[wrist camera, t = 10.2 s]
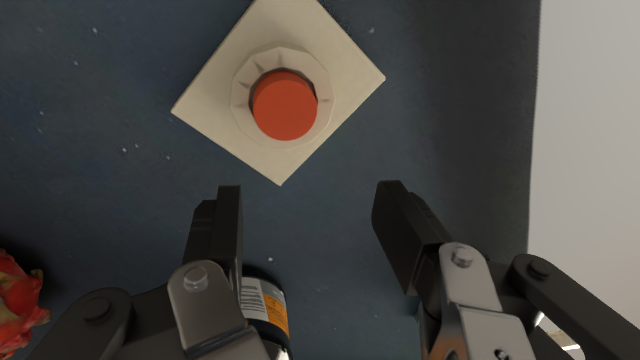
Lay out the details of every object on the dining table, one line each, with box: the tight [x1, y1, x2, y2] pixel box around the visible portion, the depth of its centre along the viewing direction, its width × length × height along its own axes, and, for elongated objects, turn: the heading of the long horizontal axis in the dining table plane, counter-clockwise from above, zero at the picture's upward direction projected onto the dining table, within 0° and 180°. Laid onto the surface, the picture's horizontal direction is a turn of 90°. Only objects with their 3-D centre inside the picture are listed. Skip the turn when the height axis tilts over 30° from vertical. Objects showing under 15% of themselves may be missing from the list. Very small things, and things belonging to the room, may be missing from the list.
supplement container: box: [241, 268, 293, 360], centre depth 32 cm, size 10×10×12 cm
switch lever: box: [546, 330, 579, 350], centre depth 31 cm, size 12×5×2 cm, turn 176°
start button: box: [253, 71, 318, 141], centre depth 21 cm, size 4×4×2 cm
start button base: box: [171, 0, 386, 186], centre depth 23 cm, size 12×10×4 cm
